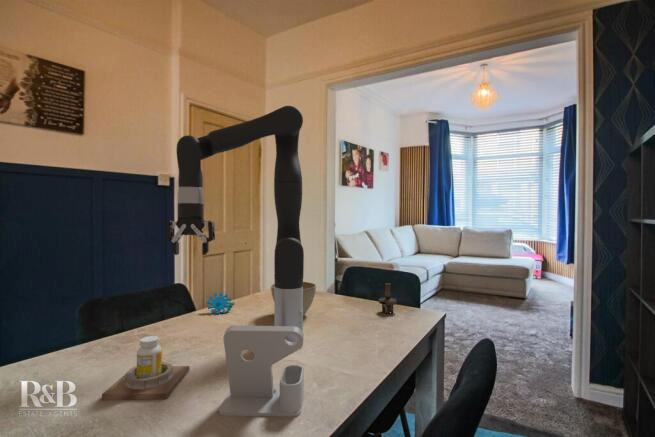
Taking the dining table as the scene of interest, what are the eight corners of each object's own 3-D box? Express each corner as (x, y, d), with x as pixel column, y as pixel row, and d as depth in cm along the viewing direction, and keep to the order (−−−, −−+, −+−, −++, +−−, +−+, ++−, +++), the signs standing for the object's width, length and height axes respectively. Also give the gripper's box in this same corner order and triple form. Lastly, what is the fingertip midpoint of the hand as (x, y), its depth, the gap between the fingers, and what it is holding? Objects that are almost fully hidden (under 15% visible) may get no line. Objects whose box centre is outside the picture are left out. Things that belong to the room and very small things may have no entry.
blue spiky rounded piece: (204, 311, 140) (209, 290, 147) (204, 319, 144) (208, 298, 151) (233, 314, 143) (236, 292, 150) (232, 321, 147) (235, 300, 154)
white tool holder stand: (305, 392, 81) (306, 314, 81) (302, 417, 71) (302, 328, 71) (230, 390, 81) (231, 313, 81) (216, 416, 71) (216, 327, 71)
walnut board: (189, 370, 92) (189, 358, 91) (166, 398, 78) (166, 384, 78) (134, 371, 91) (134, 358, 91) (101, 399, 77) (101, 385, 77)
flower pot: (324, 313, 145) (324, 284, 145) (297, 324, 130) (297, 292, 130) (289, 306, 155) (290, 279, 155) (261, 316, 140) (261, 286, 139)
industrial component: (387, 308, 153) (387, 281, 153) (400, 312, 147) (400, 283, 147) (372, 312, 147) (372, 283, 147) (385, 316, 142) (385, 286, 141)
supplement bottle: (142, 386, 81) (142, 344, 80) (132, 379, 84) (132, 339, 84) (165, 378, 85) (165, 338, 85) (155, 371, 88) (155, 333, 88)
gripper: (162, 201, 105) (162, 256, 105) (210, 202, 105) (210, 256, 105) (172, 202, 112) (172, 253, 112) (217, 202, 113) (217, 253, 113)
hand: (190, 254), depth 109 cm, fingers open, 8 cm apart
